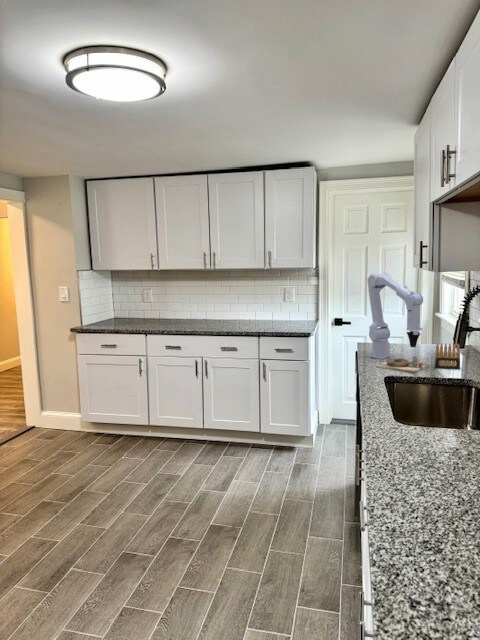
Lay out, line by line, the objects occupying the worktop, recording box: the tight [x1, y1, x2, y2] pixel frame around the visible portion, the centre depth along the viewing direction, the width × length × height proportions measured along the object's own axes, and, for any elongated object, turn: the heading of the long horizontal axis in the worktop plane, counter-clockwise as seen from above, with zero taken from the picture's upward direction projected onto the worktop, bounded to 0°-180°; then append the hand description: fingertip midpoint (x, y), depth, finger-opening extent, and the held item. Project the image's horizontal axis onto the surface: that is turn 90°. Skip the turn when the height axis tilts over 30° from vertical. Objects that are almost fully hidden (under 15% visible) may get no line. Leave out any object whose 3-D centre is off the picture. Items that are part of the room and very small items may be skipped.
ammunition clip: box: [434, 342, 461, 370], centre depth 206 cm, size 11×2×12 cm, turn 71°
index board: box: [375, 360, 430, 374], centre depth 213 cm, size 16×19×3 cm
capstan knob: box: [386, 356, 418, 367], centre depth 212 cm, size 14×10×4 cm
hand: (413, 347), depth 213 cm, fingers closed
